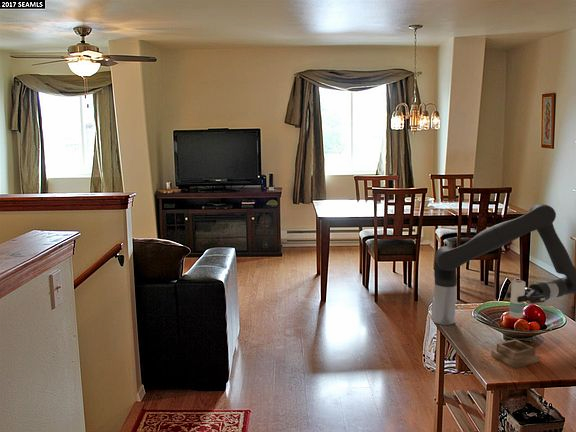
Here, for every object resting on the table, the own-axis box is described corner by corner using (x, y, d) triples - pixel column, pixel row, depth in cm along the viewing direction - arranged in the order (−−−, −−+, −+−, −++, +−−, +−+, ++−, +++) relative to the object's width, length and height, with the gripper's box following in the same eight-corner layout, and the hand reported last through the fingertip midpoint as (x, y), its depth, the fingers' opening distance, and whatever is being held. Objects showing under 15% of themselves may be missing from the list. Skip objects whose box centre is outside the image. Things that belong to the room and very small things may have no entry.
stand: (491, 355, 222) (492, 343, 221) (514, 349, 227) (515, 337, 226) (515, 368, 211) (516, 355, 210) (539, 361, 216) (540, 349, 215)
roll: (506, 314, 231) (508, 280, 228) (515, 312, 233) (518, 278, 230) (516, 319, 226) (519, 284, 223) (525, 316, 228) (528, 282, 225)
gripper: (529, 277, 239) (499, 283, 232) (559, 287, 227) (528, 293, 220) (528, 294, 241) (497, 301, 234) (557, 305, 228) (526, 312, 221)
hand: (512, 297), depth 227 cm, fingers closed on roll, 5 cm apart
